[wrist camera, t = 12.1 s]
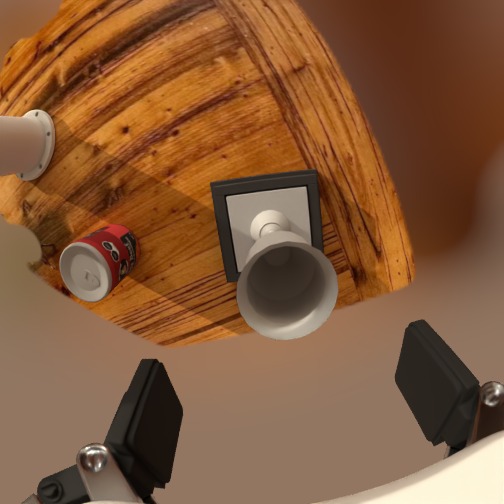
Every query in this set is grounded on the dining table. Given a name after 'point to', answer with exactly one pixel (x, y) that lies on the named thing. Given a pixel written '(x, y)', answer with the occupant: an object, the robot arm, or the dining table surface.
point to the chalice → (284, 281)
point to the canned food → (99, 262)
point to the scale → (261, 184)
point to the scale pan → (253, 203)
